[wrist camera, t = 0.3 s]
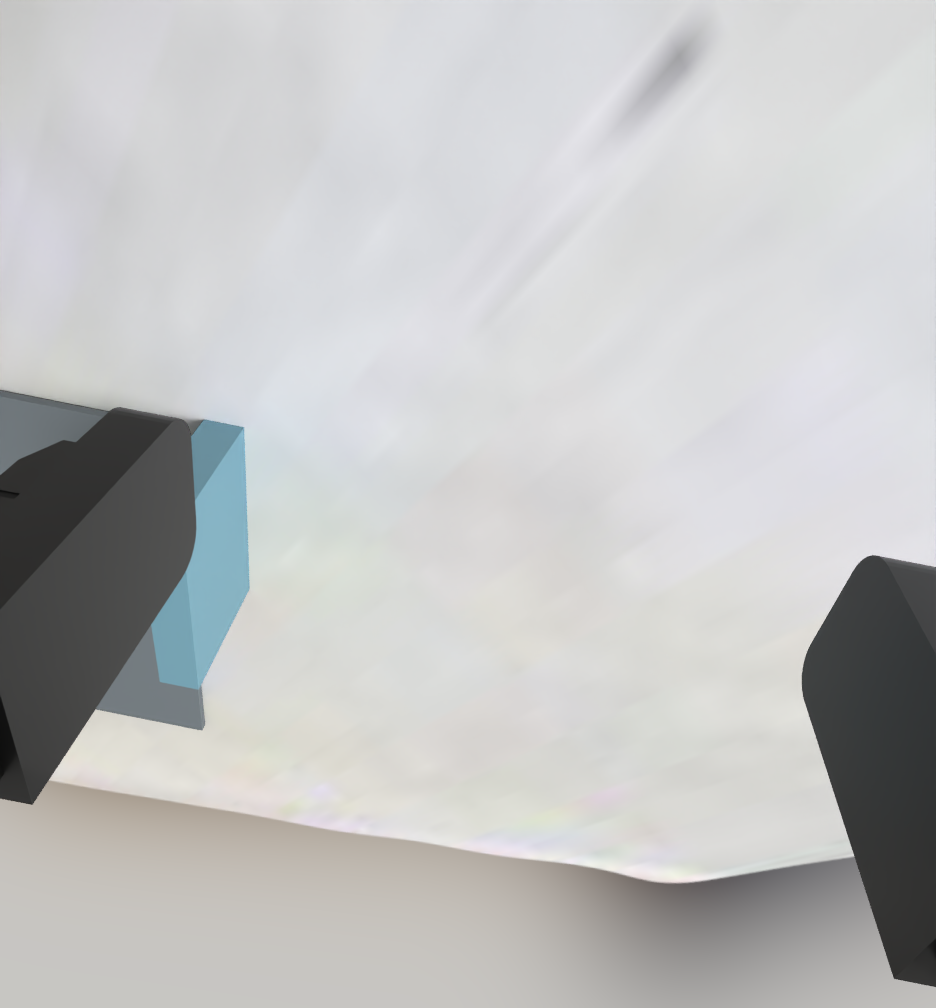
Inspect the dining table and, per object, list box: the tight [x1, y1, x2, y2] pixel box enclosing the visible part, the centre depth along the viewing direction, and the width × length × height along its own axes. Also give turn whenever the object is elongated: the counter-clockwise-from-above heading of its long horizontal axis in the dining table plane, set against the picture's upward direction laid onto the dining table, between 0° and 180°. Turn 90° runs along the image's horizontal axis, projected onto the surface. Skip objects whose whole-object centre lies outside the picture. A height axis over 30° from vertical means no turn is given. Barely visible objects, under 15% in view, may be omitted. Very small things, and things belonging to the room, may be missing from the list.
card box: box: [151, 420, 250, 690], centre depth 31 cm, size 9×2×6 cm, turn 171°
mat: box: [0, 390, 205, 730], centre depth 36 cm, size 20×18×1 cm
